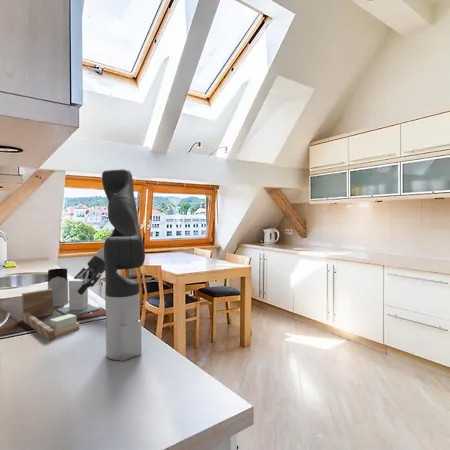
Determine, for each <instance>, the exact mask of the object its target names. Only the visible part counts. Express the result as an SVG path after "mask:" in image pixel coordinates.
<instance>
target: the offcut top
mask: <svg viewBox="0 0 450 450" xmlns="http://www.w3.org/2000/svg"><path fill="white" fill-rule="evenodd" d="M77 316H78V315H72V314H67V315H64V314H63V315H61V316H57V317H54V318H50V319H49V326H50V327H52V328H55V329H59V328H62V327H65V326H68V325H72V324H75V323H77V320H78V318H77Z"/></svg>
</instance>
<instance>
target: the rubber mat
mask: <svg viewBox="0 0 450 450" xmlns="http://www.w3.org/2000/svg"><path fill="white" fill-rule="evenodd" d="M92 311H93V312H97V311H100V307H99V308H98V307H96V306H94V305H92V304H90V303H88V307H87V308H86V309H84V310H69V306H67V307H60V308H57V312H59V313H61V314H63V316H64V315H67V314H72V315H76V316H80V315H84V313H85V314H88V312H89V313H93V312H92Z"/></svg>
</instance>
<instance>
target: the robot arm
mask: <svg viewBox="0 0 450 450" xmlns="http://www.w3.org/2000/svg"><path fill="white" fill-rule="evenodd" d="M101 183H102V188H103V191H104V193H105V194H104V195H106V198H107V201H108V205H107V218H108V221H109V223H110V224H111V225H112V226H113V230H112V232H111V235H110V236H109V237H107V238H106V239H105V240H104V244H103V246H102V247H101V248H100V249H98V251H97V252H96V253H95V254H94V255H93V257H91V258H90V259H89V261H88V262H87V266H88V267H87V268H85V267H83V268H82V269H81V270H80V271H79V272H78V273H77V274H76V275H75V276H74V278H73V279H85V283H84V284H85V285H84V284H83V285H82V286H81V287H80V289H79V290H78V291H77V292H78V293H79V294H81V295H82V294H83V293H84V292H85V291H86V289H87V288H93V287H94V286H95V285H96V284H97V282H98V281H99V280H100V278H101V277H102V274H103V273H104V272H105V274H104V276H105V278H104V279H105V289H104V291H105V295H104V296H105V349H106V350H105V356H106V357H107V359H110V360H112V361H113V360H114V361H120V362H123V361H124V362H125V361H127V360H129V359H132V358H134V357H136V356H137V357H138V356H139V355H142V321H141V315H140V309H141V308H140V305H141V302H140V299H141V298H140V294H141V293H140V291H141V289H140V282H138V281H137V280H134V279H130V278H127V277H124V276H122V275H120V274H119V273H118V270H121V271H122V270H133V269H134V270H135V269H138V268H141V267H142V266H143V265H144V263H145V260H146V252H145V245H144V240H143V237H142V236H143V235H142V233H141V229H140V226H139V216H138V209H137V207H138V206H137V204H136V199H135V193H134V192H135V191H134V179H133V175H132V172H131V171H130V170H129V169H127V168H117V169H106V170H104V171H102V172H101Z"/></svg>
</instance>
